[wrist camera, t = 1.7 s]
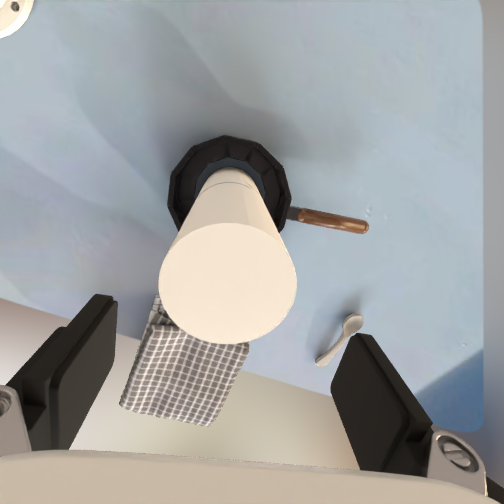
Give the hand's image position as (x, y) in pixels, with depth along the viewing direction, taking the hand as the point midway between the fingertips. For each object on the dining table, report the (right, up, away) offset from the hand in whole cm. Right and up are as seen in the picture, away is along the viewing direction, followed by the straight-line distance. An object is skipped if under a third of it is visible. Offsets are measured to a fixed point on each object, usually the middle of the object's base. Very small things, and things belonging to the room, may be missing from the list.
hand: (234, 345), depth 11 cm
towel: (-10, -12, +36) cm, 39 cm away
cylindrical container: (-2, +11, +27) cm, 29 cm away
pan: (+3, +10, +27) cm, 29 cm away
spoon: (+15, -11, +37) cm, 41 cm away
